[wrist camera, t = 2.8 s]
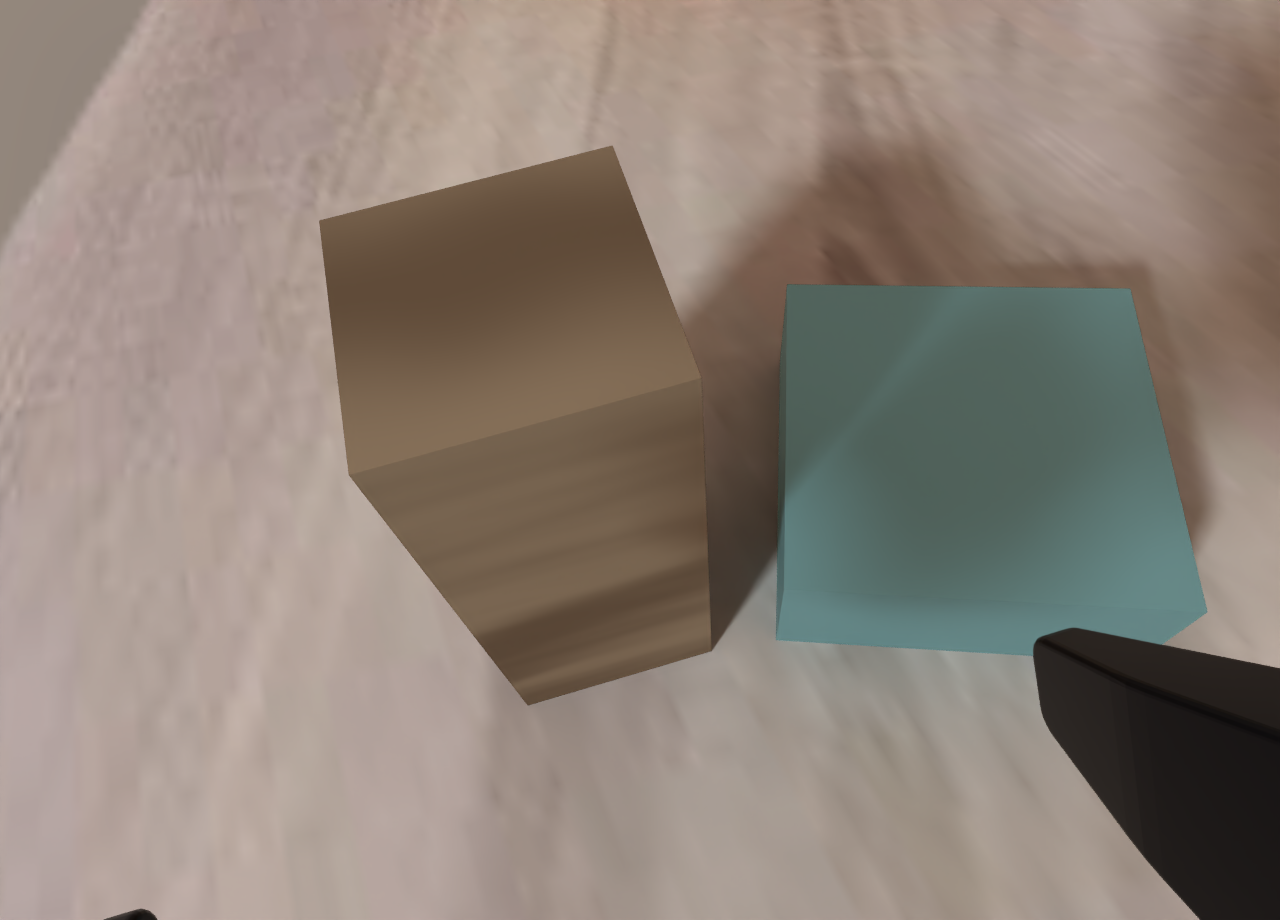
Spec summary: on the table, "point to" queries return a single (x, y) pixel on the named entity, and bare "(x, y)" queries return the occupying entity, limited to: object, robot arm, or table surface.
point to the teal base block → (974, 471)
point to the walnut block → (529, 417)
